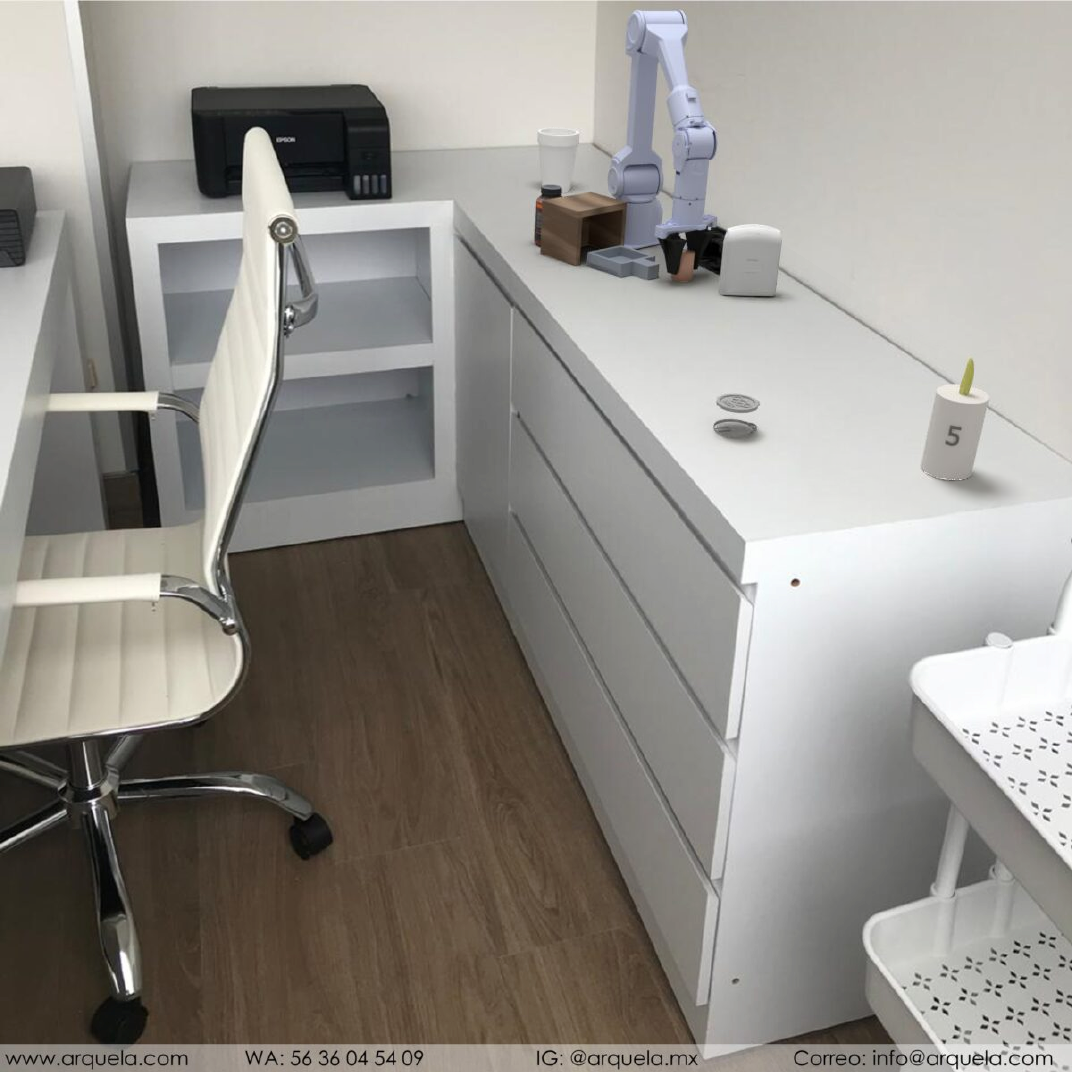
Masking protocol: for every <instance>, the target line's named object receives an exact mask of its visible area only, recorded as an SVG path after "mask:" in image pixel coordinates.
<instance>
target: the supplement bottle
mask: <svg viewBox="0 0 1072 1072" xmlns="http://www.w3.org/2000/svg"><path fill="white" fill-rule="evenodd" d="M540 189H541V190H540V193H541V195H539V196H538V197H537V198H536V200H535V210H534V211H535V212H534V213H535V214H534V216H535V217H534V219H535V220H534V236H533V237H534V243H535V244H536V245H537V246H540V247H541V224H542V200H548V199H553V198H559V197H563V196H562V194H563V193H562V187H561V186H559V185H543V186H542V185H541V188H540Z"/></svg>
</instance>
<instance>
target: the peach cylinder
mask: <svg viewBox="0 0 1072 1072" xmlns="http://www.w3.org/2000/svg"><path fill="white" fill-rule="evenodd" d="M694 258H695V252H694V251H692V250H688V249H687V248H684V249H683V252H682V255H681V260H680V267H679V271H678V274H677V275H673V274H670V280H672V281H674V282H679V283H687V282H688V283H689V282H692V281H693V275H694V270H693V268H694Z"/></svg>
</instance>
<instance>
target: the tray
mask: <svg viewBox="0 0 1072 1072" xmlns="http://www.w3.org/2000/svg"><path fill="white" fill-rule="evenodd" d="M586 267H589V268H592V269H595V270H597V271H601V272H603V273H606V274H610V275H613V276H615V277H618V278H623V277H627V276H633V277H634V276H635V277H638V278H640V279H643V280H646V281H648V280H652V279H657V278H659V275H660V267H661V265H660V263H657V262H656V256H655V255H653V254H650V253H647V252H644V251H640V250H638V249H632V248H629V247H626V246H622V245H619V246H615V247H610V248H606V249H598V250H592V251H588V252H587V253H586Z"/></svg>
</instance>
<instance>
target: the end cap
mask: <svg viewBox="0 0 1072 1072" xmlns="http://www.w3.org/2000/svg"><path fill="white" fill-rule="evenodd" d="M710 230H711V231H713V232H714V234H713V238H712V239H711V240H710V242H709V243H708V245H707V247H706V248H705V250H704V253H703V255H702V258H701V261H700V263H699V266H698V267H701V268H703V269H705V270H708V272H711V273H713V274H715V275H719V276H720V271H721V261H722V251H723V242H724V237H725V235H726V231H727V229H725V228H723V227H720V226H718V225H717V226H716V227H713V228H712V227H710Z"/></svg>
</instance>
